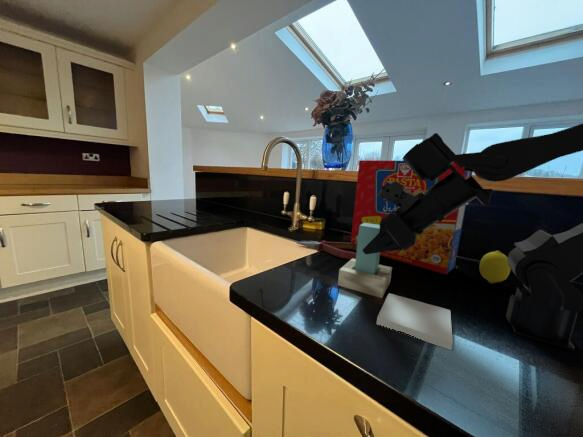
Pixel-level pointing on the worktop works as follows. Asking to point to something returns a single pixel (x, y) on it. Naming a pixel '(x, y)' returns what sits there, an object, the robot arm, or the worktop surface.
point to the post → (366, 234)
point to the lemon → (494, 267)
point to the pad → (417, 320)
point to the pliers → (333, 248)
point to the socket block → (365, 279)
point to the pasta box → (372, 209)
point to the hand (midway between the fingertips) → (369, 246)
